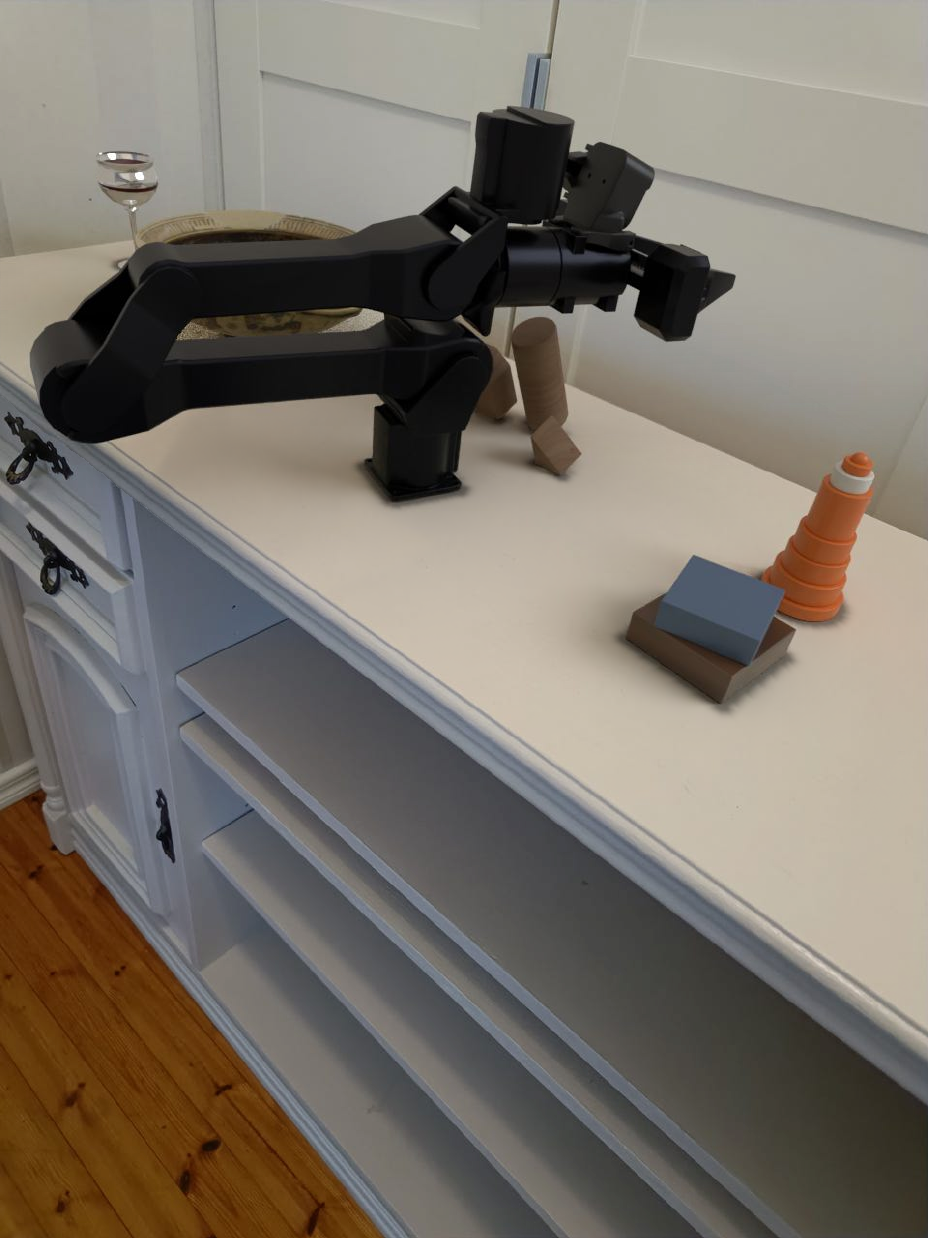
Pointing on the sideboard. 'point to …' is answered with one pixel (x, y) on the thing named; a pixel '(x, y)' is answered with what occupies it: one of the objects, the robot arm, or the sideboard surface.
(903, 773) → the sideboard surface
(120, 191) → the wineglass
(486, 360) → the robot arm
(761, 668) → the base block
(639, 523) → the sideboard surface
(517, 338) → the wooden block set
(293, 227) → the ceramic bowl
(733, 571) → the top block
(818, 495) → the cone
